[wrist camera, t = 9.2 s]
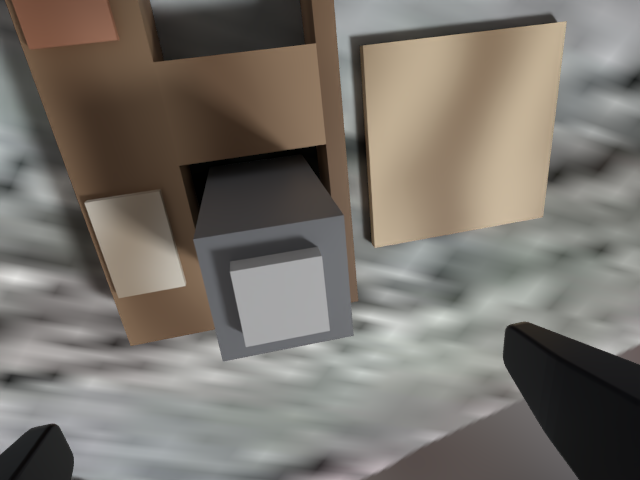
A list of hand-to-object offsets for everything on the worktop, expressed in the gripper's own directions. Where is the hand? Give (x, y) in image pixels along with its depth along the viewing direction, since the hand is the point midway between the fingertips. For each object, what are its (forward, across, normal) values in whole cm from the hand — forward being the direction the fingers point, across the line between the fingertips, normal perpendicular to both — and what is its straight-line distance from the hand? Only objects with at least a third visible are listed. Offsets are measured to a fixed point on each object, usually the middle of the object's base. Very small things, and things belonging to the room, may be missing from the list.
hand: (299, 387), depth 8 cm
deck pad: (+12, -10, -2) cm, 15 cm away
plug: (+12, 0, 0) cm, 12 cm away
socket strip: (+12, +2, -4) cm, 13 cm away
